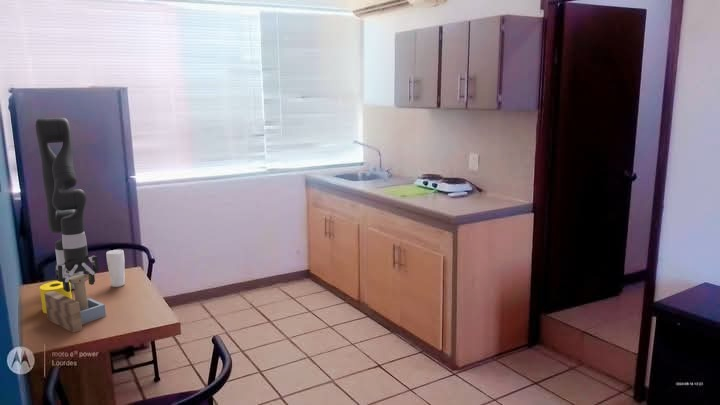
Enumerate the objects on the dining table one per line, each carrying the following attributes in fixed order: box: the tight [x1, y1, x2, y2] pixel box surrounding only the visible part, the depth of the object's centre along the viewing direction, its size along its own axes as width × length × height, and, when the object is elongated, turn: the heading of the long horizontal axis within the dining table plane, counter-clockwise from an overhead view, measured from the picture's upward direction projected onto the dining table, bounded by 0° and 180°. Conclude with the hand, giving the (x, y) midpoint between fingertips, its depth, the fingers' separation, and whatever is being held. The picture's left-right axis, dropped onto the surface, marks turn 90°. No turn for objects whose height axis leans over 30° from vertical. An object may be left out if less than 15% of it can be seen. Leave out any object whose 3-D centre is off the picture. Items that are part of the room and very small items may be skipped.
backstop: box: [44, 291, 83, 334], centre depth 184 cm, size 19×3×10 cm, turn 54°
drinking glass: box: [106, 249, 126, 288], centre depth 222 cm, size 7×7×15 cm
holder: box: [80, 297, 107, 325], centre depth 191 cm, size 11×11×5 cm
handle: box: [69, 273, 89, 311], centre depth 190 cm, size 5×6×15 cm
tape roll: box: [39, 280, 73, 314], centre depth 198 cm, size 10×10×9 cm
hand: (79, 287), depth 189 cm, fingers open, 8 cm apart
